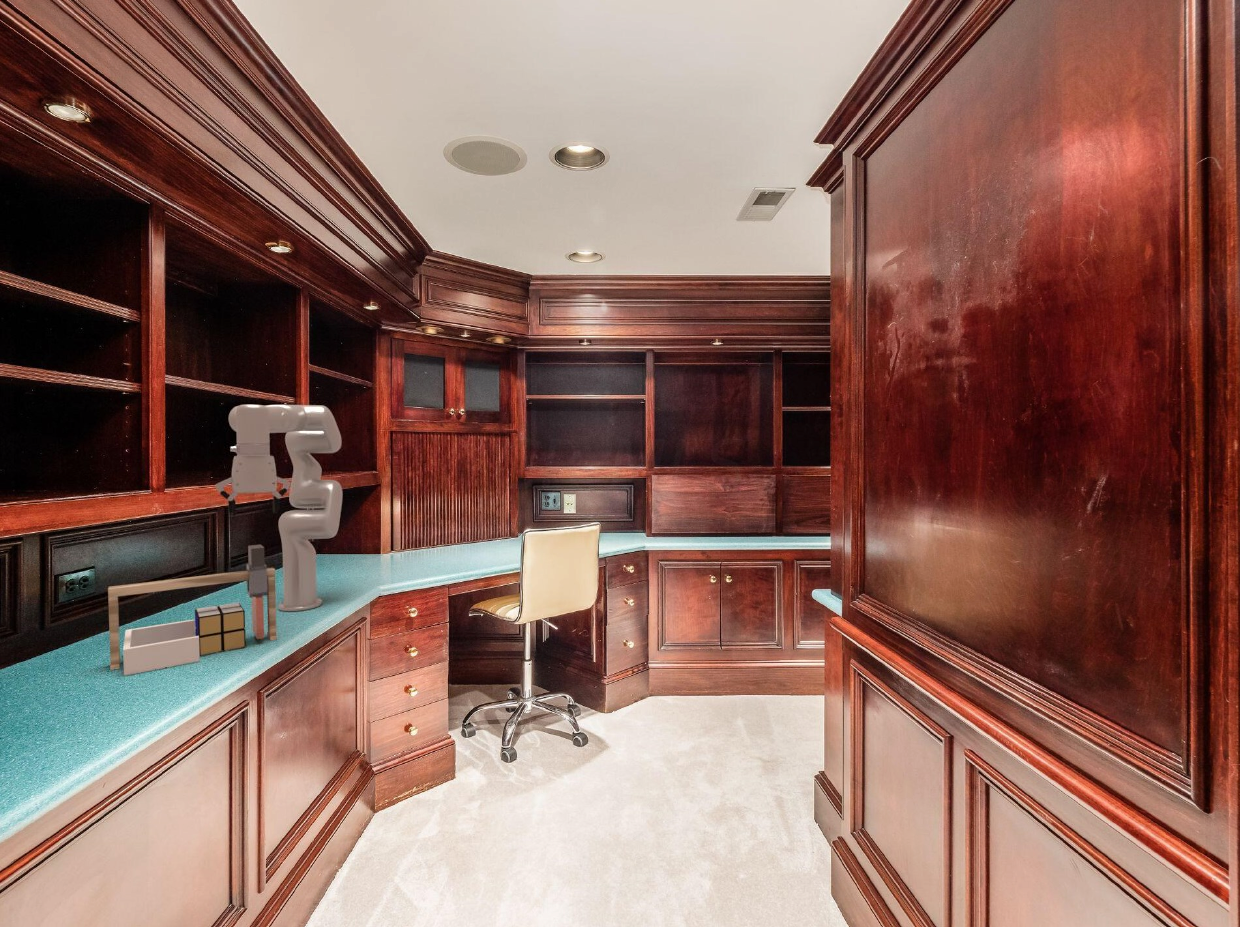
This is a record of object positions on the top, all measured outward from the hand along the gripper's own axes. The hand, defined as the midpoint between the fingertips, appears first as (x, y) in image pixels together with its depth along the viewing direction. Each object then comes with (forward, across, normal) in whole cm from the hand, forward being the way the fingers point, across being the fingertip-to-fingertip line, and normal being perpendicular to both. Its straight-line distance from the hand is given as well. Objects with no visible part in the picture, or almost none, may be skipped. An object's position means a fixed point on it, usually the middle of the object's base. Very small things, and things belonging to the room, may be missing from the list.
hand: (254, 514), depth 158 cm
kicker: (+33, 0, +1) cm, 33 cm away
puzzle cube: (+35, -8, +1) cm, 36 cm away
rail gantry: (+34, -13, +1) cm, 37 cm away
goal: (+34, -20, +1) cm, 40 cm away
